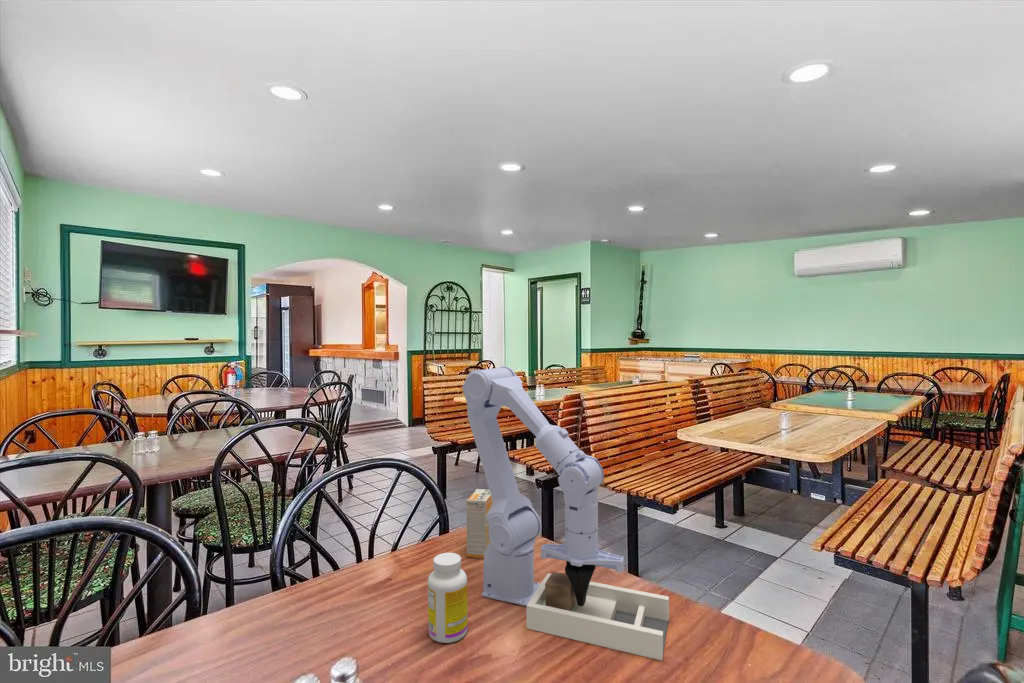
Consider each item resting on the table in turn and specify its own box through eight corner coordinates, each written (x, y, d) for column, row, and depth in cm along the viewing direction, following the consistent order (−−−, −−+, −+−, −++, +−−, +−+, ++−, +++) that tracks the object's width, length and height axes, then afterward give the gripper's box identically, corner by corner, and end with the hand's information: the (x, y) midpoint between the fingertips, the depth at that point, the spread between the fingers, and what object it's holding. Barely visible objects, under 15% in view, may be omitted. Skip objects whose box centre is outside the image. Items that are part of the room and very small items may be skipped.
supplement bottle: (473, 625, 88) (473, 553, 88) (457, 648, 82) (457, 570, 82) (439, 618, 91) (438, 547, 90) (421, 640, 84) (420, 564, 84)
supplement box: (486, 559, 113) (486, 501, 112) (465, 557, 114) (465, 499, 113) (495, 543, 121) (495, 489, 120) (475, 541, 122) (475, 487, 121)
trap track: (526, 628, 87) (526, 605, 87) (547, 593, 99) (547, 573, 98) (662, 660, 79) (662, 635, 79) (668, 618, 90) (668, 596, 90)
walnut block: (545, 608, 90) (545, 583, 90) (553, 595, 94) (552, 571, 94) (570, 613, 88) (569, 587, 88) (576, 599, 92) (576, 575, 92)
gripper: (534, 530, 88) (535, 606, 89) (618, 543, 83) (618, 624, 83) (547, 515, 95) (547, 587, 95) (625, 526, 89) (625, 602, 90)
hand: (581, 603), depth 90 cm, fingers closed
